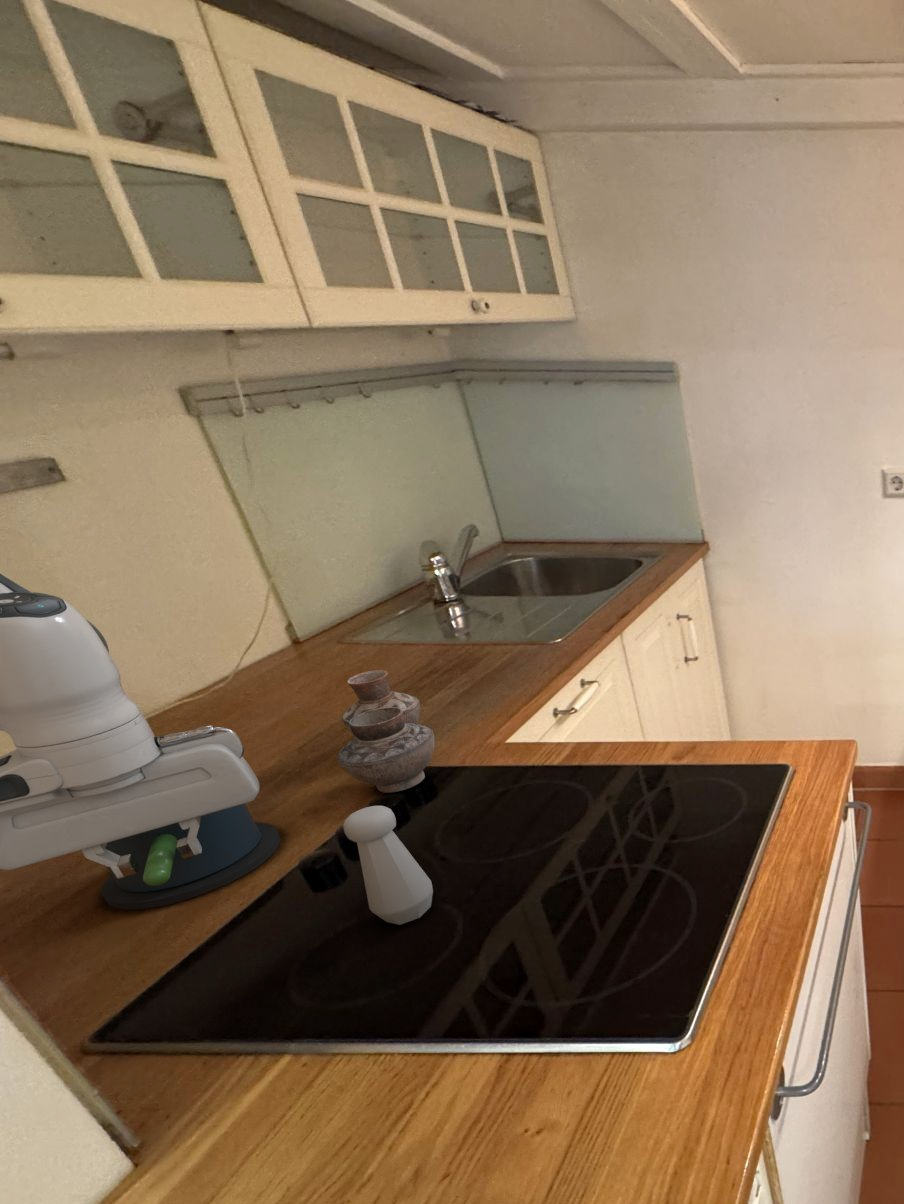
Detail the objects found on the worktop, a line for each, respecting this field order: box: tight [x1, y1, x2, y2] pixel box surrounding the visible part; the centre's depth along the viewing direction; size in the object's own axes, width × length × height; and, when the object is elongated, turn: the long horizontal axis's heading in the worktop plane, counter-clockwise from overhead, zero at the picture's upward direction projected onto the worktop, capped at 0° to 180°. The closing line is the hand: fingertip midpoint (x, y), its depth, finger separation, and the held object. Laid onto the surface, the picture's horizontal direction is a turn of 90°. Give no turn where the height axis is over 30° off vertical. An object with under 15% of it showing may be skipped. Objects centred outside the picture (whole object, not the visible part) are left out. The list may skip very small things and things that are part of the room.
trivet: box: [100, 821, 281, 911], centre depth 93 cm, size 16×16×1 cm
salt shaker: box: [342, 805, 434, 926], centre depth 82 cm, size 6×6×13 cm
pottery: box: [336, 669, 436, 794], centre depth 112 cm, size 11×25×12 cm, turn 38°
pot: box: [105, 803, 261, 892], centre depth 88 cm, size 22×14×10 cm, turn 39°
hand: (161, 863), depth 83 cm, fingers open, 4 cm apart
